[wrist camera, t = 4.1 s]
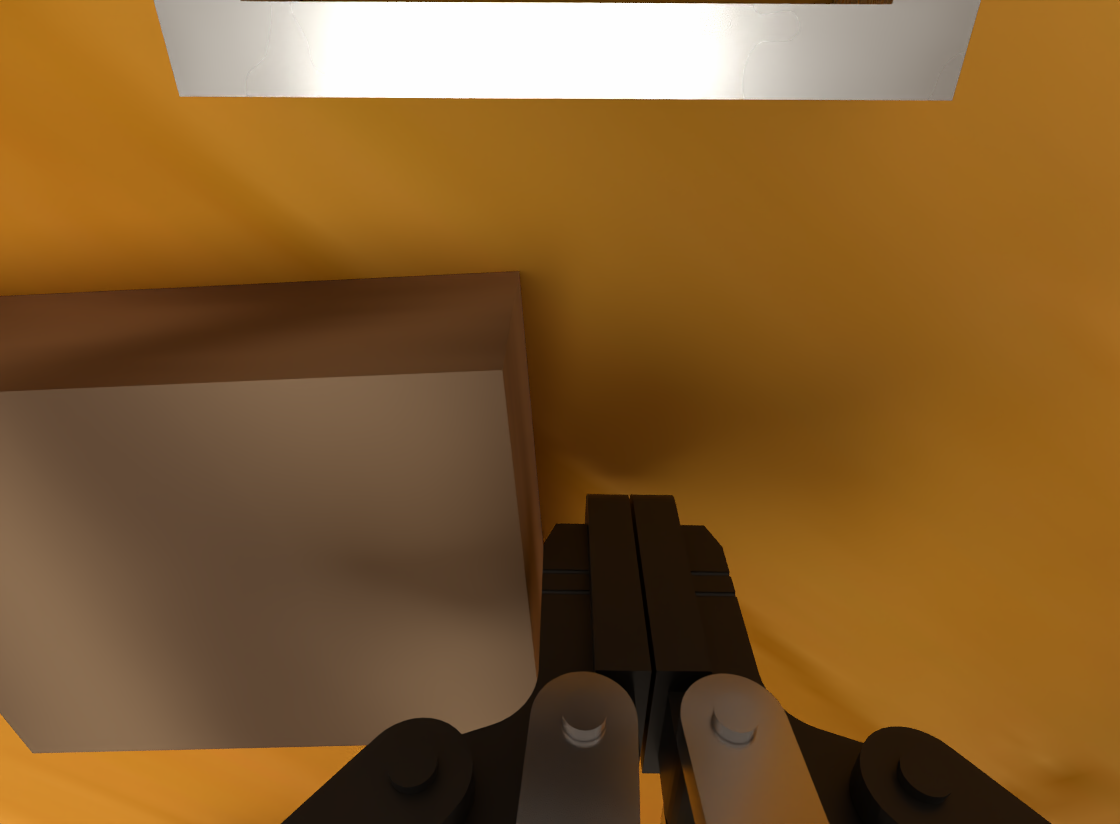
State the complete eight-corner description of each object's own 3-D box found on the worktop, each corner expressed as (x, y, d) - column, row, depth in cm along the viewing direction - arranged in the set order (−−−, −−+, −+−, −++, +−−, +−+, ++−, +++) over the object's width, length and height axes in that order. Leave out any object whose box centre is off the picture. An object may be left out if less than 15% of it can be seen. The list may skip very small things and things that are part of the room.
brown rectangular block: (520, 262, 12) (502, 370, 8) (548, 583, 16) (543, 741, 13) (-25, 290, 12) (-254, 402, 9) (143, 596, 16) (32, 753, 13)
